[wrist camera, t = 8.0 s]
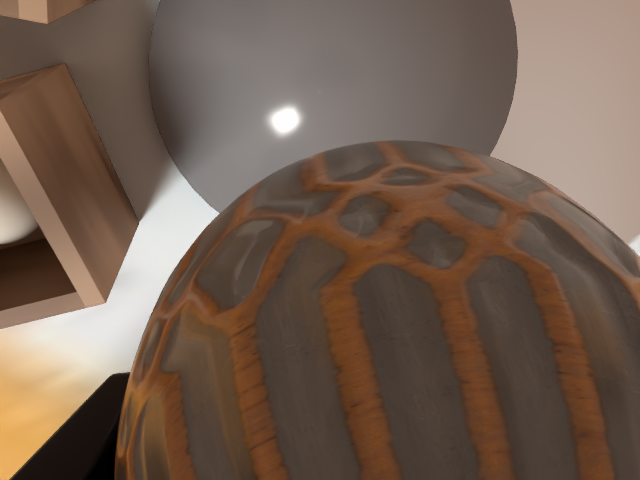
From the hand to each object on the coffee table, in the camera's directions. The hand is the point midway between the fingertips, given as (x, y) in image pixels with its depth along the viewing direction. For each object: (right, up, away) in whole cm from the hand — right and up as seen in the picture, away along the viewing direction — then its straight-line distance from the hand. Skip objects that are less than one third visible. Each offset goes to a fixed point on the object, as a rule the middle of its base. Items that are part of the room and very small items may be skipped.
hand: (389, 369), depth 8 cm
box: (-11, +4, +11) cm, 17 cm away
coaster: (0, +7, +11) cm, 13 cm away
